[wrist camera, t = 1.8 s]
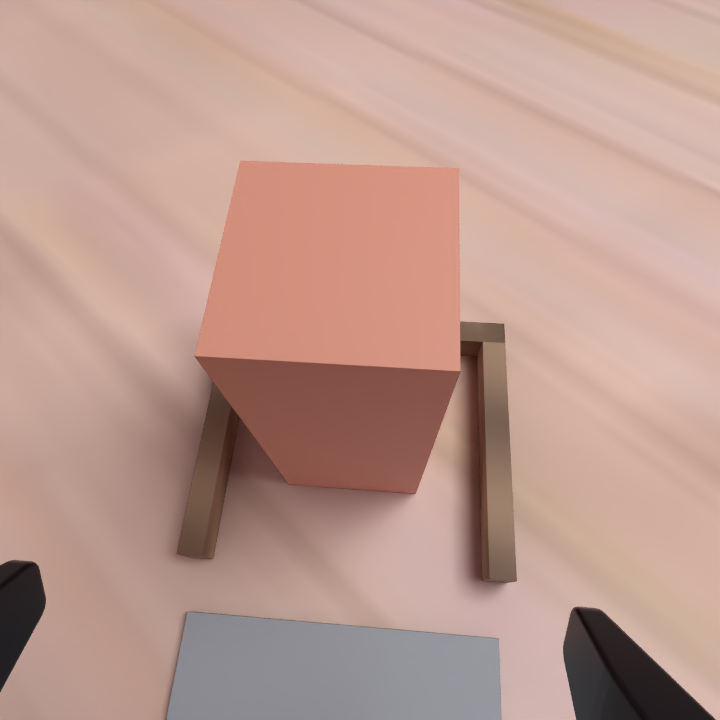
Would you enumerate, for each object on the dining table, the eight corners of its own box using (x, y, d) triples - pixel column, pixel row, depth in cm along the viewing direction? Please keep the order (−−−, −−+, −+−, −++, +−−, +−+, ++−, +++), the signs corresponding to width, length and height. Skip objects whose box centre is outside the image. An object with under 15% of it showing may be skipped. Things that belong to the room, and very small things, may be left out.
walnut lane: (507, 582, 21) (516, 581, 19) (189, 557, 21) (176, 553, 20) (497, 338, 25) (504, 323, 24) (236, 324, 26) (228, 309, 25)
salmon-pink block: (415, 493, 22) (460, 371, 10) (289, 484, 22) (193, 356, 11) (419, 376, 24) (458, 168, 13) (304, 369, 25) (240, 161, 13)
